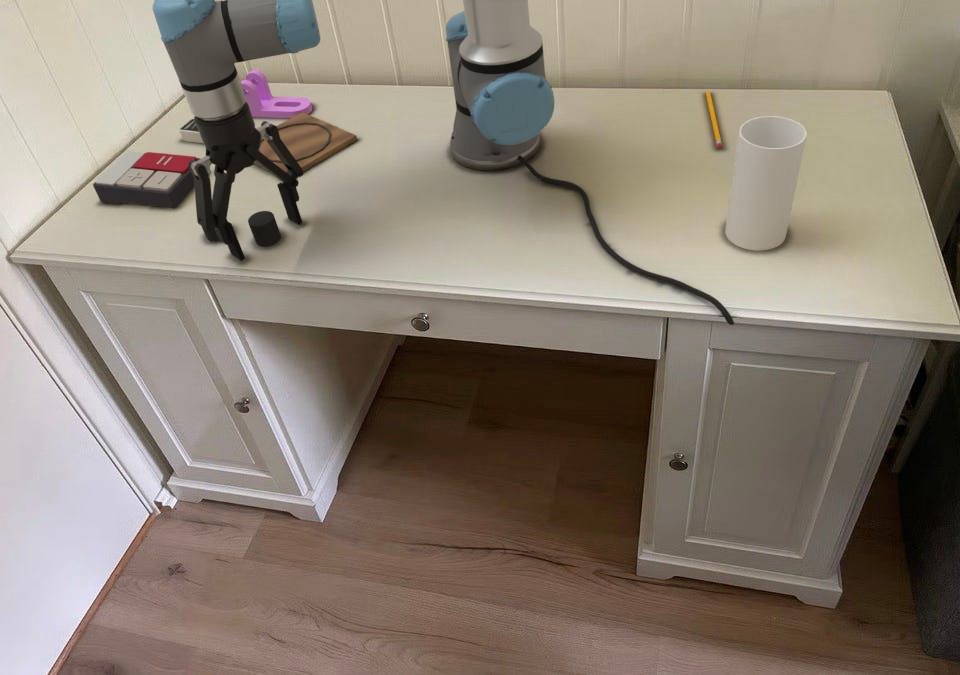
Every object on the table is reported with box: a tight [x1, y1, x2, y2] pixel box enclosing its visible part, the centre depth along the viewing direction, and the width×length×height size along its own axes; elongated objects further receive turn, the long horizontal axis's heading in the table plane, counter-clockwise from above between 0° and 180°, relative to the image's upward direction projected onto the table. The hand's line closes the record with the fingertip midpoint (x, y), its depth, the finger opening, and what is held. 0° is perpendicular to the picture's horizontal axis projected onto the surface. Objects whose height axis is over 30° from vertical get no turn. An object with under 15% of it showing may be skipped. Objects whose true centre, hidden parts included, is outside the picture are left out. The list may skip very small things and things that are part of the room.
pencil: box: [705, 90, 723, 150], centre depth 134 cm, size 1×18×1 cm, turn 174°
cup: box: [724, 115, 808, 252], centre depth 106 cm, size 8×8×16 cm
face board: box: [254, 112, 358, 173], centre depth 142 cm, size 16×16×1 cm
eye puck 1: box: [201, 218, 228, 243], centre depth 124 cm, size 4×4×4 cm
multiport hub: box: [178, 118, 205, 145], centre depth 147 cm, size 4×11×2 cm, turn 68°
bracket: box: [240, 69, 313, 119], centre depth 151 cm, size 13×6×7 cm, turn 76°
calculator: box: [92, 150, 201, 209], centre depth 136 cm, size 11×4×15 cm
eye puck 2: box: [247, 210, 282, 248], centre depth 121 cm, size 4×4×4 cm
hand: (267, 238), depth 122 cm, fingers open, 10 cm apart
